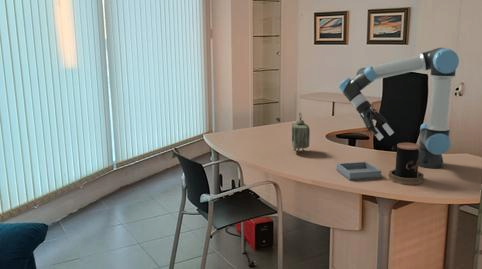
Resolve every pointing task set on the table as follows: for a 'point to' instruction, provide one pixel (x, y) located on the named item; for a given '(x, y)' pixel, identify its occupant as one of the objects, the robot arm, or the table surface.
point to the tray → (358, 171)
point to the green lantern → (300, 135)
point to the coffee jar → (407, 160)
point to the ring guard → (406, 180)
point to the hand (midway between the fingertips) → (386, 136)
